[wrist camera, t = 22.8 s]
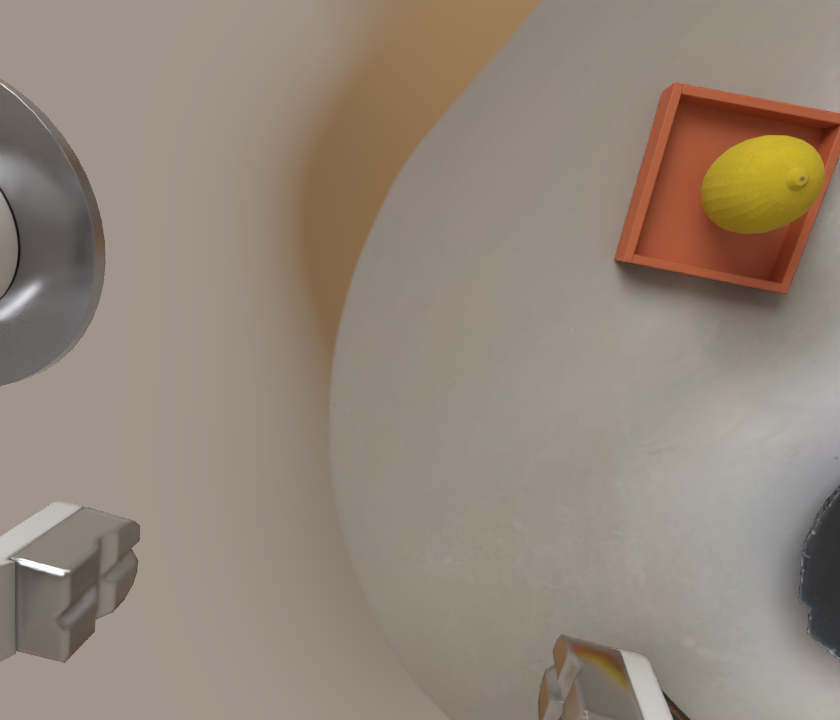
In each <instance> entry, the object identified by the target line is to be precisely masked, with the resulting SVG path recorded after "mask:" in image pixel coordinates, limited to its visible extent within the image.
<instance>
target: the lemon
mask: <svg viewBox="0 0 840 720" xmlns="http://www.w3.org/2000/svg"><path fill="white" fill-rule="evenodd" d="M824 179H825V169H824V164H823V161H822V159H821V156H820V155H819V153H818V152H817V151H816V150H815V148H814V147H813V146H811V145H810V144H808V143H807V142H805V141H803V140H801V139H798V138H794V137H791V136H785V135H765V136H761V137H756V138H752V139H748V140H745V141H743V142H741V143H739V144H737V145H735V146H733V147H731V148H730V149H728V150H727V151H726V152H724V153H723V154H722V155H721V156H720V157H718V158H717V159H716V160H715V162H714V163H713V164H712V165H711V167H710V168H709V169H708V171H707V173H706V175H705V177H704V179H703V182H702V187H701V203H702V206H703V209H704V211H705V213H706V214H707V216H708V217H709V219H710V220H711V221H713V222H714V223H715V224H716V225H717V226H719V227H721V228H723V229H725V230H728V231H730V232H736V233H742V234H755V233H765V232H769V231H771V230H774V229H777V228H780V227H783V226H786V225H788V224H789V223H791V222H793V221H794V220H796V219H798V218H799V217H801V216H802V215H803V214H804V213H805V212H806V211H808V210H809V209H810V208H811V207H812V206H813V204H814V203H815V201H816V200H817V198H818V197H819V195H820V193H821V190H822V188H823V185H824Z"/></svg>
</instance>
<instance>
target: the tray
mask: <svg viewBox="0 0 840 720" xmlns="http://www.w3.org/2000/svg"><path fill="white" fill-rule="evenodd" d="M765 135H785V136H791V137H794V138H798V139H801V140H803V141H805V142H807V143H808V144H810V145H811V146H813V147H814V148H815V150H816V151H817V152H818V153H819V155H820V156H821V159H822V161H823V164H824V169H825V179H824V185H823V188H822V190H821V193H820V195H819V197H818V198H817V200H816V201H815V203H814V204H813V206H812V207H811V208H810V209H809V210H808V211H806V212H805V213H804V214H803V215H802V216H801V217H799V218H798V219H796V220H794V221H793V222H791V223H789V224H788V225H786V226H783V227H780V228H777V229H774V230H771V231H769V232H765V233H755V234H742V233H736V232H730V231H728V230H725V229H723V228H721V227H719V226H717V225H716V224H715V223H714V222H713V221H711V220H710V219H709V217H708V216H707V214H706V213H705V211H704V209H703V206H702V203H701V187H702V182H703V179H704V177H705V175H706V173H707V171H708V169H709V168H710V167H711V165H712V164H713V163H714V162H715V160H716V159H717V158H718V157H720V156H721V155H722V154H723V153H724V152H726V151H727V150H728V149H730V148H731V147H733V146H735V145H737V144H739V143H741V142H743V141H745V140H748V139H752V138H756V137H761V136H765ZM839 155H840V113H835V112H829V111H824V110H819V109H813V108H808V107H803V106H797V105H792V104H787V103H782V102H776V101H771V100H766V99H760V98H755V97H750V96H744V95H739V94H734V93H729V92H723V91H718V90H713V89H707V88H702V87H697V86H691V85H686V84H685V85H684V84H681V83H674V84H672V85H671V86H670V87H668V88H667V89H666V90H664V91H663V92H662V95H661V98H660V102H659V105H658V109H657V112H656V116H655V119H654V123H653V126H652V130H651V133H650V137H649V140H648V144H647V147H646V151H645V154H644V158H643V161H642V165H641V168H640V172H639V175H638V179H637V182H636V186H635V189H634V193H633V196H632V200H631V203H630V207H629V210H628V214H627V217H626V221H625V224H624V228H623V231H622V235H621V238H620V242H619V245H618V249H617V252H616V256H615V259H614V260H615V261H620V262H625V263H630V264H635V265H640V266H645V267H651V268H656V269H661V270H666V271H671V272H676V273H681V274H686V275H691V276H696V277H701V278H706V279H711V280H716V281H721V282H726V283H731V284H736V285H741V286H746V287H751V288H756V289H761V290H766V291H772V292H778V293H784V294H787V293H788V290H789V287H790V285H791V282H792V279H793V277H794V274H795V271H796V269H797V266H798V264H799V261H800V258H801V256H802V253H803V250H804V248H805V245H806V242H807V240H808V237H809V234H810V232H811V229H812V227H813V224H814V221H815V219H816V216H817V213H818V211H819V208H820V205H821V203H822V200H823V198H824V195H825V192H826V190H827V187H828V184H829V182H830V179H831V176H832V174H833V171H834V169H835V166H836V163H837V161H838V158H839Z"/></svg>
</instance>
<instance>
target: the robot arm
mask: <svg viewBox="0 0 840 720" xmlns="http://www.w3.org/2000/svg"><path fill="white" fill-rule="evenodd" d="M17 259H18V239H17V232H16V227H15V223H14V220H13V216H12V214H11V211H10V208H9V206H8V204H7V202H6V200H5V198H4V196H3V194H2V193H1V191H0V298H1V297H2V296H3V295H4V293H5V292H6V290H7V289H8V287H9V285H10V284H11V281H12V279H13V277H14V274H15V270H16V266H17ZM139 540H140V525H139V524H138V523H136V522H135V521H132V520H129V519H126V518H122V517H119V516H116V515H112V514H109V513H105V512H102V511H98V510H95V509H91V508H86V507H83V506H79V505H76V504H73V503H69V502H66V501H59V502H54V503H52V504H51V505H49V506H48V507H46V508H44V509H43V510H41V511H40V512H38V513H37V514H35V515H34V516H32V517H30V518H29V519H27V520H26V521H24V522H23V523H21V524H20V525H18V526H16V527H15V528H13V529H12V530H10V531H9V532H7V533H6V534H4V535H2V536H1V537H0V662H1V661H3V660H5V659H7V658H8V657H10V656H12V655H14V654H15V653H16V651H19V652H23V653H27V654H31V655H35V656H39V657H43V658H48V659H52V660H56V661H60V662H64V663H65V662H66V661H67V660H68V659H69V658H70V657H71V656H72V655H73V654H74V653H75V652H76V650H78V648H79V647H80V646H81V645H82V644H83V643H84V642H85V641H86V640H87V639H88V638H89V637H90V636H91V635H92V634H93V633H94V631H95V620H96V619H98V618H100V617H103V616H105V615H107V614H110V613H112V612H114V610H115V609H116V608H117V607H118V606H119V605H120V604H121V603H122V602H123V601H124V599H125V597H126V596H127V594H128V592H129V590H130V588H131V587H132V585H133V583H134V580H135V577H136V573H137V567H138V560H137V558H136V556H135V554H134V552H133V550H132V549H131V548H132V547H133V546H134V545H135V544H136V543H137V542H139ZM553 655H554V661H555V664H554V665H553V666H551V667H550V668H548V669H546V670H545V673H544V676H543V679H542V682H541V687H540V694H539V701H538V710H539V720H673V717H672V715H671V712H670V710H669V708H668V705H667V703H666V700H665V698H664V695H663V693H662V691H661V688H660V686H659V683H658V681H657V679H656V676H655V674H654V671H653V669H652V667H651V664H650V662H649V660H648V659H647V658H646V657H645V656H644V655H643V654H639V653H635V652H631V651H626V650H622V649H618V648H615V649H614V648H612V647H608V646H604V645H600V644H596V643H592V642H589V641H585V640H581V639H577V638H573V637H569V636H565V635H561V636H560V637H559V638H558V639H557V641H556V644H555V646H554V649H553Z"/></svg>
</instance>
